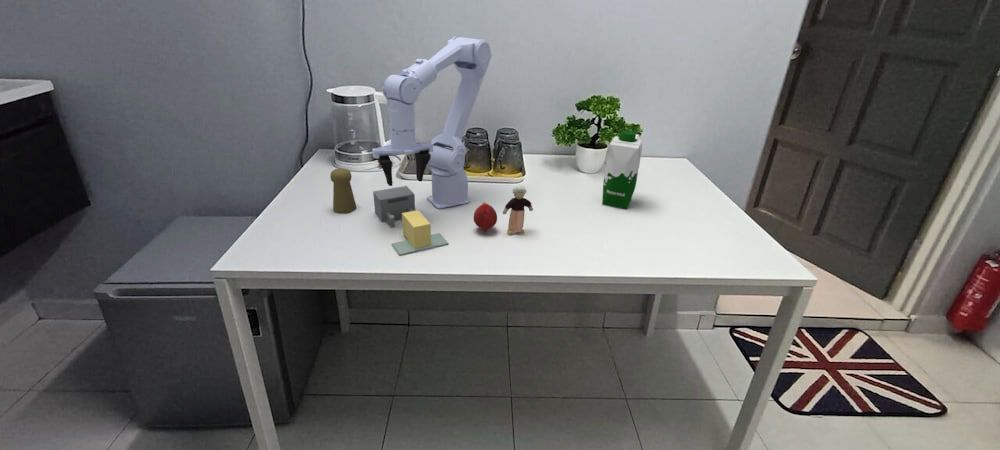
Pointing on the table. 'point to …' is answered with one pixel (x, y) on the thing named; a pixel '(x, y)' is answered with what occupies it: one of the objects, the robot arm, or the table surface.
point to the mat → (408, 248)
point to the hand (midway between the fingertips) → (404, 182)
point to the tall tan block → (416, 229)
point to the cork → (342, 191)
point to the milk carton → (621, 170)
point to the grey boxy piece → (393, 203)
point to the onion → (485, 216)
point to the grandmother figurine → (517, 210)
